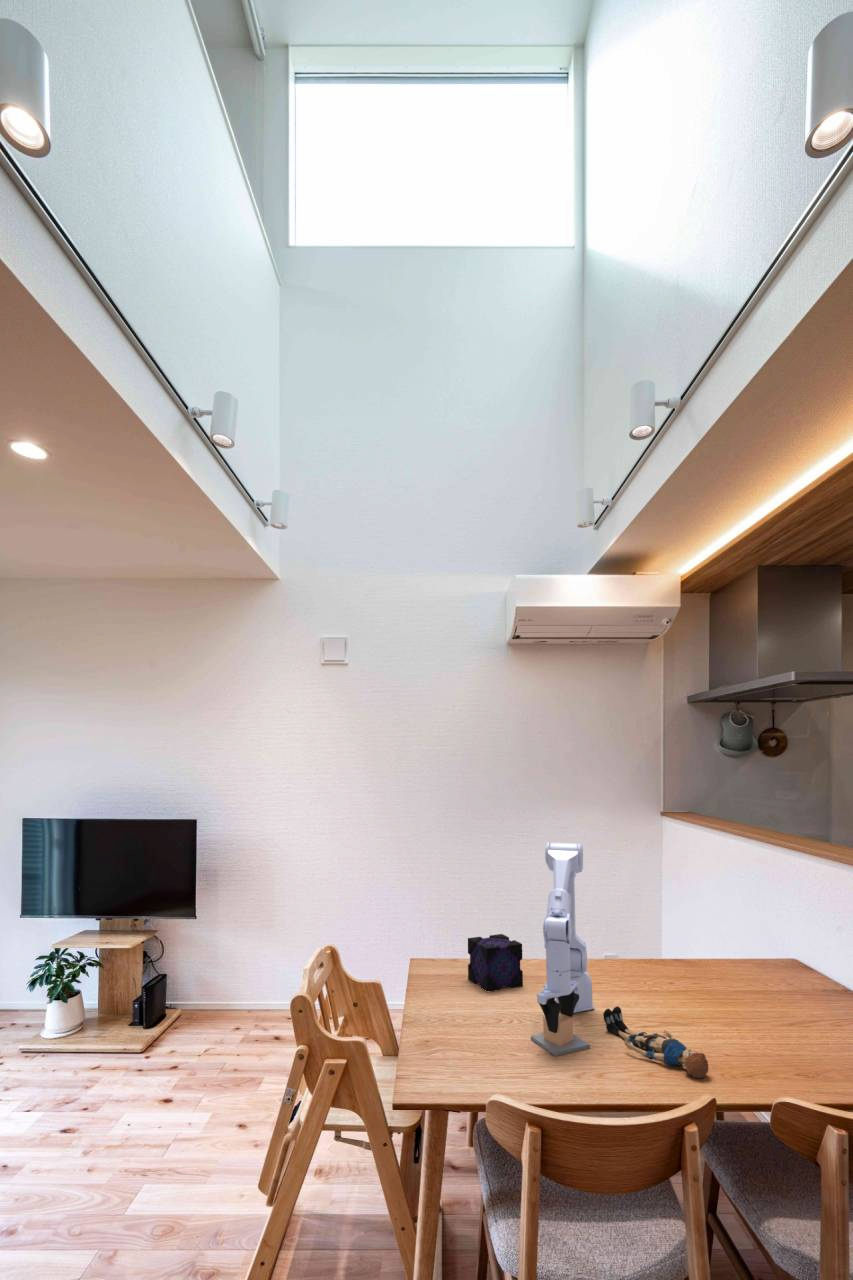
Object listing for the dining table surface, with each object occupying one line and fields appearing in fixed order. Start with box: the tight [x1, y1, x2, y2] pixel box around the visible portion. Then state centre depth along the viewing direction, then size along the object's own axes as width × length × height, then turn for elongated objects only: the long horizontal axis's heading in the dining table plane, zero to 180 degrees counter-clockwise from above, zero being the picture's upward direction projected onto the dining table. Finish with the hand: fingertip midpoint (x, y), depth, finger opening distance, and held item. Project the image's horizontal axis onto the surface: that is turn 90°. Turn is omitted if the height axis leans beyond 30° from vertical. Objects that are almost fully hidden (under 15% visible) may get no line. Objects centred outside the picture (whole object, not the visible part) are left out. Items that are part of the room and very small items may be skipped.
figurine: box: [602, 1006, 709, 1079], centre depth 165 cm, size 13×6×30 cm
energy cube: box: [467, 933, 524, 992], centre depth 213 cm, size 12×12×12 cm
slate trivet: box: [530, 1032, 591, 1057], centre depth 170 cm, size 10×10×1 cm
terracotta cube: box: [542, 1012, 574, 1046], centre depth 170 cm, size 5×5×5 cm
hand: (559, 1028), depth 170 cm, fingers closed on terracotta cube, 5 cm apart
